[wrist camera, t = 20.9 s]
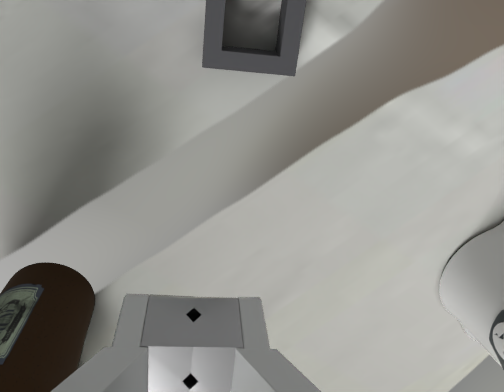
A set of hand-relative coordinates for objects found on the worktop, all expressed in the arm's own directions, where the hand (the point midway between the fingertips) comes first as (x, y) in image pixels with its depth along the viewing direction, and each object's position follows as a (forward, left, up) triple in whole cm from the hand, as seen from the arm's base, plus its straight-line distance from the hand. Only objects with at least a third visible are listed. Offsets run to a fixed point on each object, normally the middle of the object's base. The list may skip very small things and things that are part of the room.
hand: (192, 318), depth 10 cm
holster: (-4, -4, -34) cm, 35 cm away
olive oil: (+15, +27, -34) cm, 46 cm away
